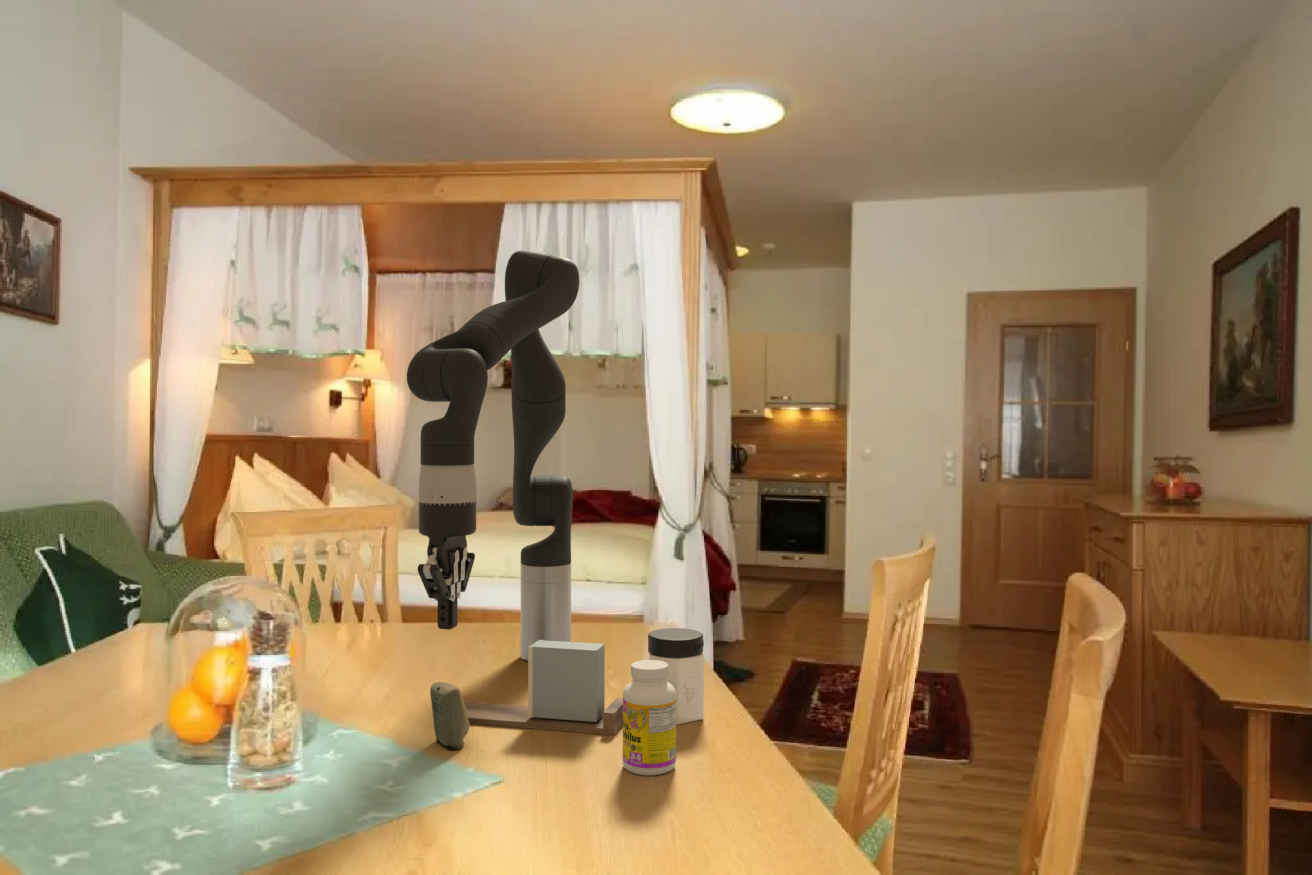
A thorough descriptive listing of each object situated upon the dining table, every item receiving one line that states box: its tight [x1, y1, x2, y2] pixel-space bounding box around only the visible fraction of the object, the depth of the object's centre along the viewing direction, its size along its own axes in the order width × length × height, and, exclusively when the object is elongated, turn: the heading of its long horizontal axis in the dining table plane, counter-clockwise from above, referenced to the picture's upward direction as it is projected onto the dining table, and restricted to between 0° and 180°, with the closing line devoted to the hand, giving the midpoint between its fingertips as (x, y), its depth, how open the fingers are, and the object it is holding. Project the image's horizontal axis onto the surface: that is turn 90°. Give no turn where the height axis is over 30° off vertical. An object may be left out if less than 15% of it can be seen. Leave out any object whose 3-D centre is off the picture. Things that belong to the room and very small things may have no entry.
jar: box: [647, 627, 705, 726], centre depth 135 cm, size 9×8×12 cm
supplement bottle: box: [622, 659, 677, 776], centre depth 115 cm, size 7×7×13 cm
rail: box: [464, 697, 623, 736], centre depth 133 cm, size 7×26×3 cm, turn 77°
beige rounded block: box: [429, 681, 470, 751], centre depth 123 cm, size 6×5×8 cm
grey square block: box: [527, 640, 606, 722], centre depth 132 cm, size 4×10×10 cm, turn 77°
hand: (447, 627), depth 124 cm, fingers closed
